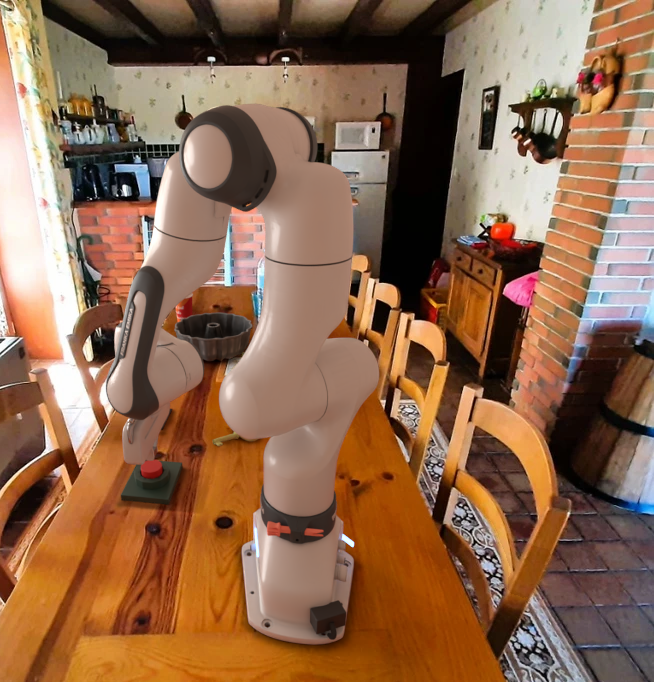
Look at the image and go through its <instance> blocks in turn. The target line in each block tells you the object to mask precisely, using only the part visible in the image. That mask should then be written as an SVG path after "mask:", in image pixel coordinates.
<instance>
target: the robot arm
mask: <svg viewBox="0 0 654 682" xmlns="http://www.w3.org/2000/svg"><path fill="white" fill-rule="evenodd" d="M316 134H317V133H316V132H315V129H314V127H313V125H312V124H311V122H310V121H309V120H308V119H307V118H306V116H304V115H302V113H299V112H298V111H296V110H294V109H291V108H289V107H283V106H277V107H274V106H268V105H265V104H261V103H243V104H235V105H231V104H230V105H229V104H223V105H218V106H214V107H211V108H208V109H206V110H204V111H203V112H200V113H199V114H197V115H196V116H195V117H194V118H193V119H192V120H191V121H190V122H189V123H188V124H187V126H186V127H185V129H184V130H183V132H182V135H181V137H180V141H179V147H178V151H177V152H175V153H173V155H171V156H170V157H169V158H168V160H167V162H166V164H165V166H164V170H163V173H162V176H161V180H160V184H159V187H158V193H157V198H156V202H155V210H154V218H153V228H152V230H153V231H152V234H151V239H150V243H149V246H148V250H147V252H146V255H145V258H144V260H143V262H142V264H141V266H140V269H139V270H138V271H137V273H136V274H135V276H134V278H133V280H132V281H131V284H130V288H129V291H128V295H127V300H126V304H125V309H124V313H123V318H122V321H121V322H120V323H118V325H116V327H115V330H114V339H113V341H114V355H115V356H114V359H113V361H112V363H111V366H110V368H109V369H108V373H107V376H106V381H105V393H106V397H107V400H108V402H109V404H110V407H112V409H113V410H114V411H116V413H118V414H120V415H122V416H124V417H126V418H128V419H127V420H126V422H125V424H124V426H123V429H122V437H121V438H122V439H121V440H122V441H121V442H122V453H123V460H124V462H125V463H126V464H128V465H133V466H136V465H143V464H144V462H145V460H150V461H153V460H155V458H156V455H157V454H158V452H159V449H158V443H159V434H160V432H161V431H162V430H161V428H162V426H163V424H164V422H165V421H166V419H167V417H168V415H169V411H170V409H171V402H173V401H174V400H176V399H178V398H180V397H181V396H183V395H185V394H186V393H188V392H190V391H191V390H193V389H195V388H197V386H199V385H200V384H201V383H202V381H203V379H204V376H205V362H204V359H203V358H202V356H201V353H200V352H199V350H198V349H197V348H196V347H195V346H194V345H193V344H192V343H190V342H188V341H186V340H183V339H178V338H177V336H175V335H172V334H171V333H169V332H168V331H167V330H165V329H164V328H163V325H164V322H165V321H166V319H167V318H168V316H169V315H170V313H171V312H172V311H173V310H174V309H176V306H177V305H178V304H179V303H180V302H181V301H182V300H183V299H185V298H186V297H187V296H188V295H190V294H191V293H192V294H193V293H194V292H196V291H197V290H198V289H199V288H201V287H202V286H204V285H205V284H206V283H207V282H208V281H210V280H211V279H212V278H213V277H214V275H215V274H216V272H217V271H218V269H219V267H220V264H221V262H222V259H223V257H224V254H225V253H224V252H225V248H226V242H227V236H228V230H229V225H230V224H229V223H230V217H231V212H232V208H234V209H236V210H238V211H241V212H243V213H247V212H251V211H252V210H254V209H257V210H258V211H259V212H260V214H261V216H262V218H263V222H264V232H265V233H264V234H265V235H264V236H265V237H264V269H263V270H264V271H263V272H264V276H263V293H262V305H261V311H260V316H259V319H258V323H257V326H256V328H255V330H254V333H253V336H252V338H251V340H250V341H249V343H248V346H247V347H246V349H245V351H244V352H243V355H242V357H241V358H240V359H239V360H238V362H237V363H236V365H235V366H234V367H233V368H232V369H231V370H230V371H229V372H228V373H227V374H225V376H224V377H223V378H222V382H221V384H220V388H219V392H218V404H219V410H220V413H221V416H222V418H223V420H224V421H225V423H226V425H227V426H228V427H229V428H230V429H231V430H232V431H233V433H234V432H235V433H237V434H238V435H239V436H241V437H243V438H245V439H258V440H259V439H265V438H269V440H268V441H267V443H266V445H265V447H264V451H263V461H262V463H263V484H262V485H261V489H260V490H261V491H260V497H259V498H260V500H259V501H260V502H259V504H260V507H259V508H258V509H256V510H255V511H254V512H253V513H252V518H253V519H252V522H253V525H252V526H253V528H252V529H253V532H252V533H253V534H252V535H253V537H252V539H253V540H250V541H248V542H245V543H244V544H243V545H242V547H241V562H242V572H243V580H244V581H243V582H244V583H243V584H244V593H245V603H246V614H247V621H248V624H249V625H250V627H252V628H253V629H254V630H256V631H257V632H259V633H261V634H263V635H265V636H267V637H270V638H272V639H275V640H279V641H284V642H287V643H288V642H289V643H294V644H301V645H325V644H330V643H334V642H336V641H339V640H341V639H343V637H344V635H345V630H346V624H347V617H348V611H349V603H350V597H351V590H352V583H353V576H354V568H355V559H354V557H353V556H352V555H351V554H349V552H346V548H347V544H348V545H349V546H350V547H352V548H354V546H355V542H354V541H353V540H352V539H350V538H349V537H348V536H346V535H345V534H344V521H343V520H342V519H341V518H340V517H339V516H338V515H337V511H338V501H337V493H336V490H335V483H336V474H337V465H338V458H339V455H340V451H341V449H342V446H343V443H344V440H345V439H346V438H345V437H346V436H347V434H348V432H349V429H350V428H351V425H352V424H353V421H354V419H355V417H356V415H357V413H358V412H359V410H360V408H361V407H362V405H363V404H364V403H365V401H367V399H368V398H370V396H371V395H372V394H373V393H374V392H375V390H376V389H377V386H378V384H379V381H380V380H379V379H380V369H379V368H380V367H379V363H378V360H377V357H376V355H375V354H374V352H373V351H372V349H370V347H369V346H368V345H367V344H366V343H365V342H363V341H361V340H360V339H358V338H355V337H333V338H329V337H330V335H331V334H332V333H333V332H334V331H335V329H337V327H339V326H340V324H341V323H342V321H343V320H344V319H345V316H346V314H347V311H348V307H349V296H350V285H351V275H352V264H353V251H354V206H353V197H352V189H351V184H350V181H349V179H348V177H347V176H346V173H344V171H342V170H341V169H339V168H338V167H335V166H333V165H331V164H328V163H324V162H316V159H317V155H318V139H317V135H316Z"/></svg>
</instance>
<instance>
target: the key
mask: <svg viewBox="0 0 654 682" xmlns="http://www.w3.org/2000/svg"><path fill="white" fill-rule="evenodd" d="M239 438H241V439H242V440H244V441H247V442H256V441H258V440H259V439H245V438H243V437H241V436H239V435H238V434H237V433H235V432H234V431H233V433H230V434H227V435H223V436H220V437H216V438H214V439H213V438H212V444H213V445H216V446H217V447H222V446H223V445H224V444H223V443H225V442H228V441H230V440H233V439H235V440H238V439H239Z"/></svg>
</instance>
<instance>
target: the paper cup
mask: <svg viewBox="0 0 654 682" xmlns="http://www.w3.org/2000/svg"><path fill="white" fill-rule="evenodd" d="M193 296H194V293H193V292H192V293H191V294H190V295H188V296H187V297H186V298H185V299H183V300H182V301H181V302H180V303H179V304H178V305H177V306H176V307H175V312H176V314H175V315H176V320H177V323H178V322H180V321H181V319H185V318H187V317H189V316H192V315H193Z"/></svg>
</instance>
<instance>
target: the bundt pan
mask: <svg viewBox="0 0 654 682" xmlns="http://www.w3.org/2000/svg"><path fill="white" fill-rule="evenodd" d="M253 327H254V326H253V323H252V320H250V319H248V318H247V317H246V316H243V315H239V314H235V313H227V312H211V313H210V312H204V313H201V314H192V316H189V317H187V318H185V319H181V321H180V322H178V321H177V322H176V323H175V324H174V332H175V334H176V338H178V339H183V340H186V341H188V342H190V343H192V344H193V345H194V346H195V347H196V348H197V349H198V350H199V352H200V353H201V356H202V358H203V361H206V362H213V361H216V360H217V361H219V362H222V361H223V360H224V359H226V360H231V359H233V358H235V357H236V356H240V355H242V354H244V353H245V351H246V350H247V348H248V346H249V344H250V337H251V331H252V329H253Z"/></svg>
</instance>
